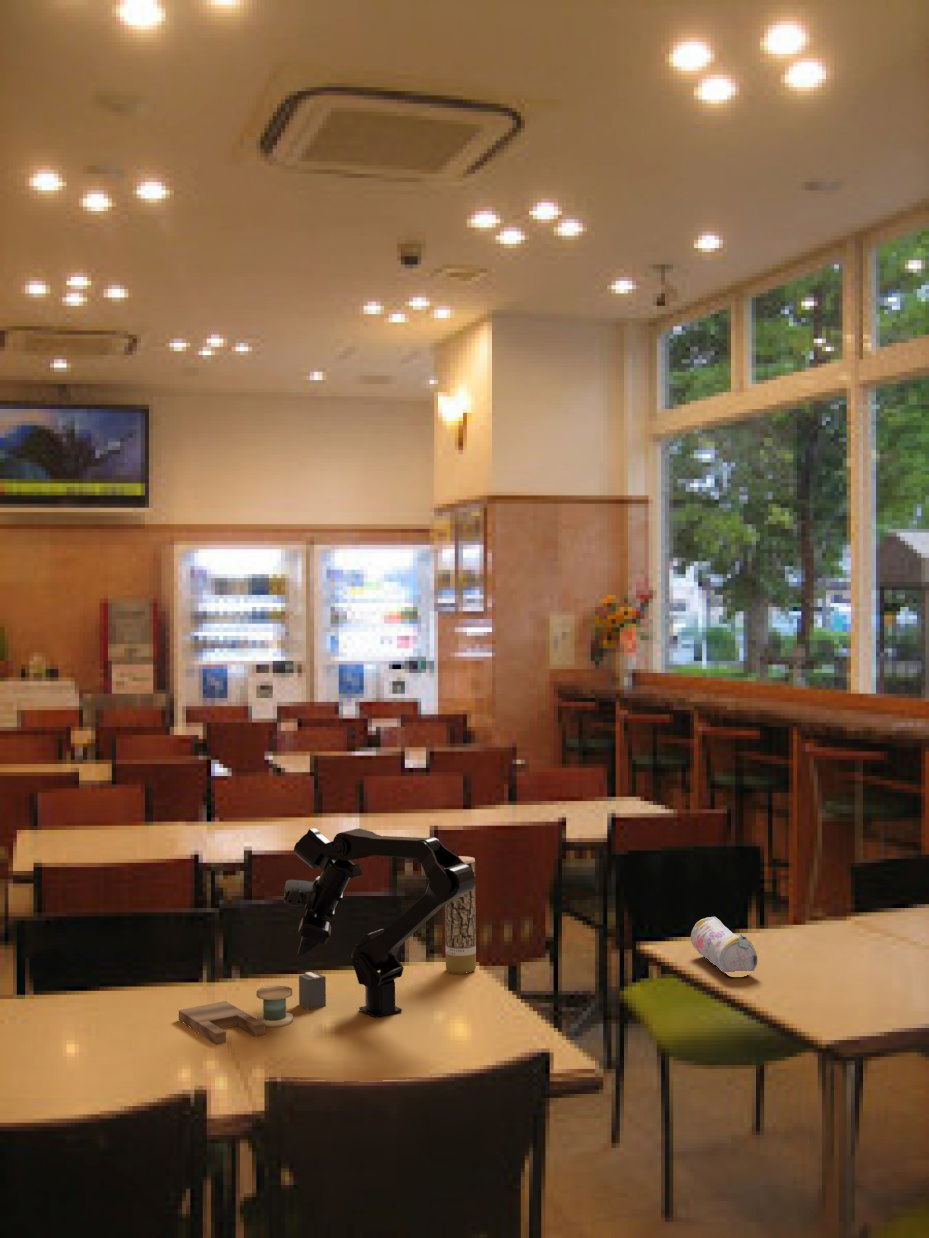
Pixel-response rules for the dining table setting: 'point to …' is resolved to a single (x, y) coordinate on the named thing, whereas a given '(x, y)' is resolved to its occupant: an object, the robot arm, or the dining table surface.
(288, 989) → the bobbin
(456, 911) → the paper tube
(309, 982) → the tab block
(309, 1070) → the dining table surface
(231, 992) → the dining table surface
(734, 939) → the pencil case
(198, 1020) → the notch board
